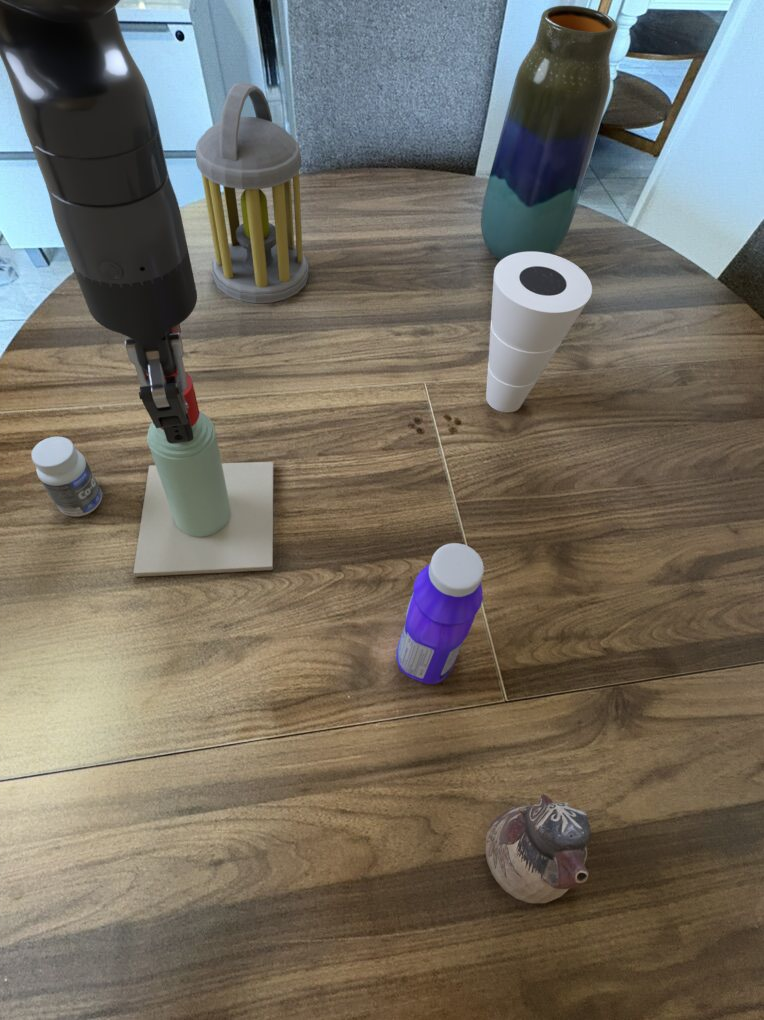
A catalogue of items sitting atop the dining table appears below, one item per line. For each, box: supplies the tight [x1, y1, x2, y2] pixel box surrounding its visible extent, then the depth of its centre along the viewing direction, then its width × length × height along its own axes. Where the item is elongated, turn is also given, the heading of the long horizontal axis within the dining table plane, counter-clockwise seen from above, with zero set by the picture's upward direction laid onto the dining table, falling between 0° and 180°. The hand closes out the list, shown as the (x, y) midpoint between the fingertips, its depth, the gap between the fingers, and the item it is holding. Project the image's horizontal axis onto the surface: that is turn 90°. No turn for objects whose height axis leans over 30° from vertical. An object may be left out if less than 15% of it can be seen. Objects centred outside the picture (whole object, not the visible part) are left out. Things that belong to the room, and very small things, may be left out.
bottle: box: [396, 542, 485, 685], centre depth 53 cm, size 7×6×17 cm
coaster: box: [132, 461, 275, 578], centre depth 67 cm, size 14×14×1 cm
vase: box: [480, 5, 618, 262], centre depth 87 cm, size 14×14×31 cm
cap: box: [160, 369, 200, 430], centre depth 52 cm, size 4×4×4 cm
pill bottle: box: [30, 436, 103, 518], centre depth 64 cm, size 5×5×8 cm
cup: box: [485, 252, 593, 414], centre depth 74 cm, size 11×11×18 cm
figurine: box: [485, 794, 592, 904], centre depth 46 cm, size 7×7×12 cm
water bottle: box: [146, 410, 231, 537], centre depth 59 cm, size 6×6×18 cm
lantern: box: [195, 81, 310, 304], centre depth 82 cm, size 14×14×25 cm
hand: (179, 421), depth 55 cm, fingers closed on cap, 3 cm apart
